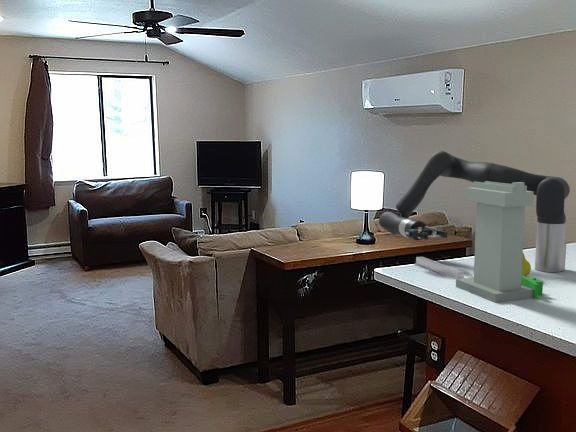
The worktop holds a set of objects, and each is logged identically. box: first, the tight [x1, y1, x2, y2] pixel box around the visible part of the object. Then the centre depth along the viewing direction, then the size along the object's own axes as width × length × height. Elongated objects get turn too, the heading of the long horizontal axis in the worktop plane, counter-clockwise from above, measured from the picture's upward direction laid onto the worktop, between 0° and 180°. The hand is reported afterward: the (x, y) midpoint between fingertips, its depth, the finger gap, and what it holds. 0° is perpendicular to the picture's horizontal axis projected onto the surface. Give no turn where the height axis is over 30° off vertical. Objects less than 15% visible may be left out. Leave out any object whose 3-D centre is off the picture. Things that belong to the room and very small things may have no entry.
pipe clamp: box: [521, 275, 544, 299], centre depth 179 cm, size 11×4×5 cm, turn 2°
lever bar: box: [415, 256, 465, 280], centre depth 209 cm, size 3×26×3 cm, turn 19°
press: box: [455, 181, 534, 303], centre depth 179 cm, size 14×19×35 cm
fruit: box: [522, 252, 532, 277], centre depth 198 cm, size 7×7×12 cm
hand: (436, 235), depth 209 cm, fingers open, 7 cm apart
